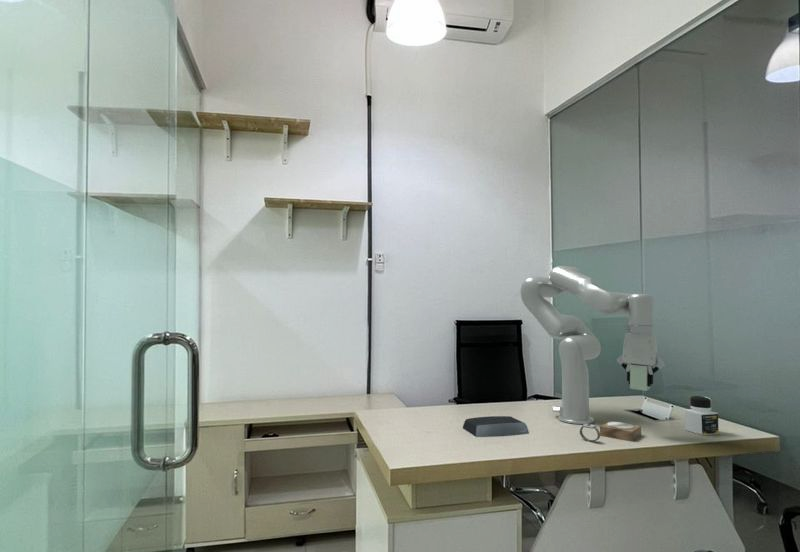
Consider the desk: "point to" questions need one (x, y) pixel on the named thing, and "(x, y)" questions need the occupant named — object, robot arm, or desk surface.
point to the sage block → (638, 377)
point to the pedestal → (620, 430)
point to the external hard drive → (495, 426)
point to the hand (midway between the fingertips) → (639, 384)
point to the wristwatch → (591, 428)
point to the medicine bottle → (701, 417)
